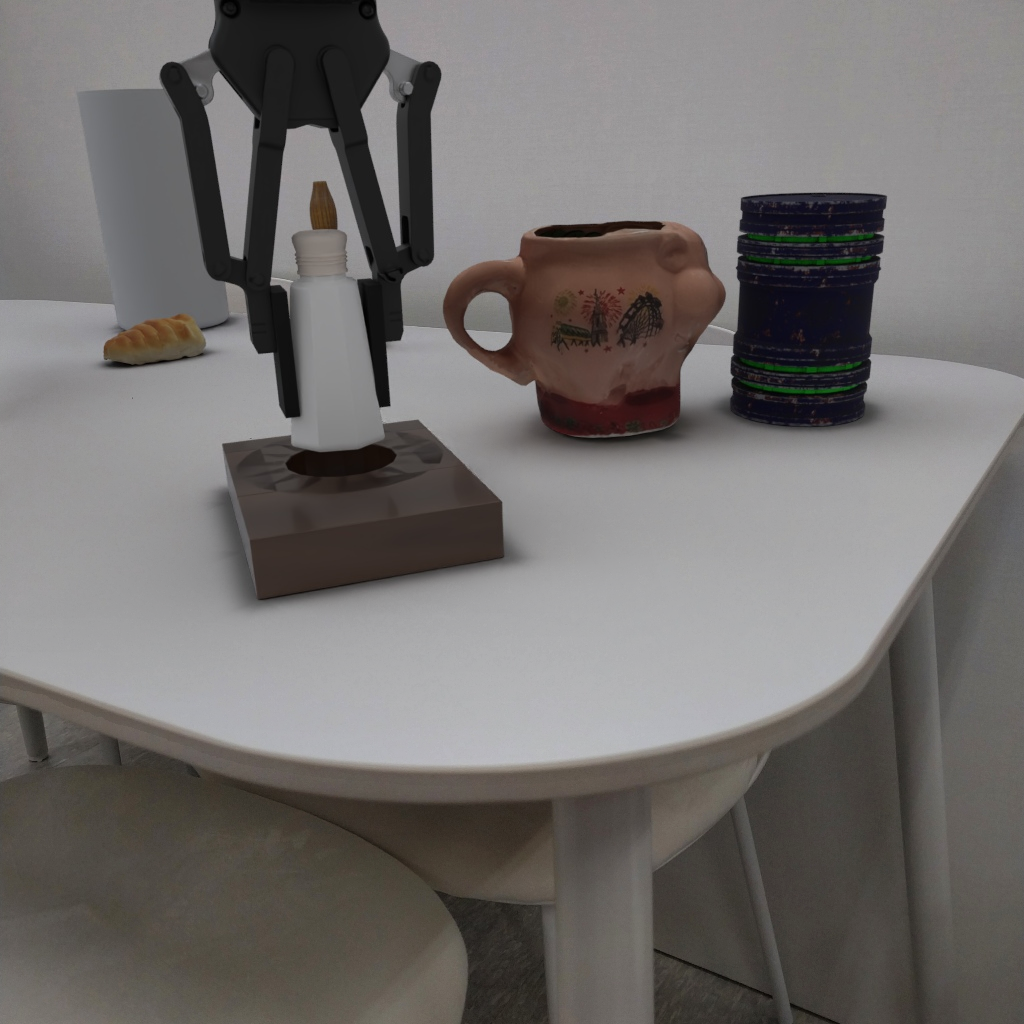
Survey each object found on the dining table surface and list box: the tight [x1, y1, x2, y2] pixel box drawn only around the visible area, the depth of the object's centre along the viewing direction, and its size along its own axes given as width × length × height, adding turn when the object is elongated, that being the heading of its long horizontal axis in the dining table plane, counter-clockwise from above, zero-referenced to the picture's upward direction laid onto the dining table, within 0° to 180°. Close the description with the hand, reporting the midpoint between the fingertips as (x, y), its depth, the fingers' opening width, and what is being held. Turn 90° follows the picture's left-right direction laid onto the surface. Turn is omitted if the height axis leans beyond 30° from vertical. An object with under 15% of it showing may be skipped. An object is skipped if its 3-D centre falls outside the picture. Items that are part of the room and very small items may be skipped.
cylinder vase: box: [76, 88, 230, 331], centre depth 109 cm, size 12×12×25 cm
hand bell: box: [309, 180, 339, 230], centre depth 95 cm, size 8×8×16 cm
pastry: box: [103, 314, 207, 366], centre depth 95 cm, size 9×7×4 cm
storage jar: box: [729, 192, 888, 427], centre depth 69 cm, size 10×10×15 cm
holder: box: [221, 419, 505, 600], centre depth 53 cm, size 16×12×3 cm
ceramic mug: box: [442, 220, 727, 439], centre depth 66 cm, size 20×12×14 cm, turn 113°
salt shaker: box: [289, 229, 385, 452], centre depth 51 cm, size 5×5×11 cm
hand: (334, 405), depth 53 cm, fingers closed on salt shaker, 4 cm apart
